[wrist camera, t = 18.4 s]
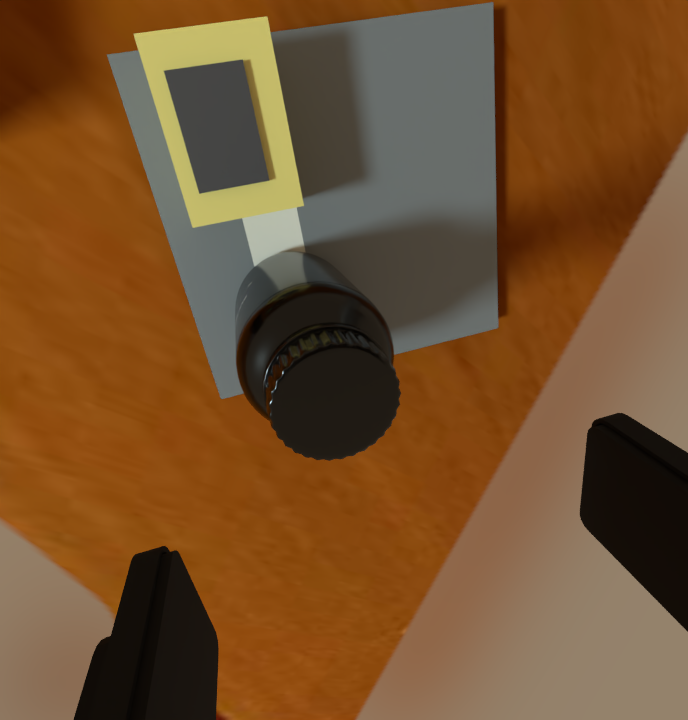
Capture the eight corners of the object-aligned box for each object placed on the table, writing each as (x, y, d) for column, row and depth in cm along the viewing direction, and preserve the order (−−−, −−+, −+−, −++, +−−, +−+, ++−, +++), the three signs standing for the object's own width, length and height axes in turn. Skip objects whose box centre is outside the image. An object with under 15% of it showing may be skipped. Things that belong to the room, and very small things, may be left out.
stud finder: (260, 45, 20) (267, 13, 16) (292, 201, 23) (305, 206, 19) (151, 60, 19) (131, 31, 16) (199, 220, 22) (192, 228, 19)
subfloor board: (478, 12, 23) (493, 2, 22) (486, 321, 31) (498, 327, 30) (115, 62, 21) (106, 54, 19) (221, 388, 28) (221, 399, 27)
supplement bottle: (211, 283, 24) (194, 368, 13) (320, 229, 24) (390, 269, 14) (269, 379, 27) (293, 513, 16) (365, 330, 27) (452, 429, 17)
